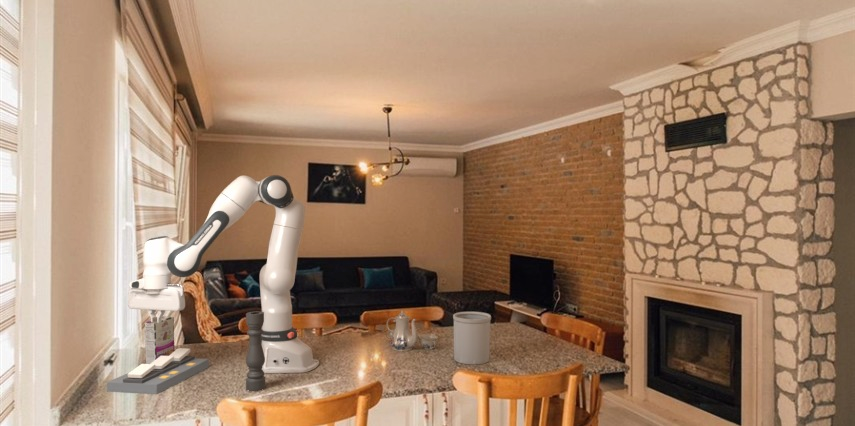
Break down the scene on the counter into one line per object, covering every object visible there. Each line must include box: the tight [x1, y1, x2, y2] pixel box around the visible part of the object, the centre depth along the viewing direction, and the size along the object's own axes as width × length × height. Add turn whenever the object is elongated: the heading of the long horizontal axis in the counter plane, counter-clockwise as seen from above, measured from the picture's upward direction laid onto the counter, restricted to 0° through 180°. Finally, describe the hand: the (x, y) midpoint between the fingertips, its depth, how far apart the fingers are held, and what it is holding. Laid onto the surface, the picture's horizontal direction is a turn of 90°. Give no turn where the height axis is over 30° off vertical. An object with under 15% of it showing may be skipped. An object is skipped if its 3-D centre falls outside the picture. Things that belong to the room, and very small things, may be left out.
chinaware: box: [385, 310, 440, 352], centre depth 231 cm, size 28×17×17 cm, turn 58°
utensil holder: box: [452, 311, 492, 365], centre depth 211 cm, size 15×15×18 cm
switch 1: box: [128, 363, 156, 378], centre depth 180 cm, size 5×7×1 cm
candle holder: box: [245, 310, 266, 392], centre depth 179 cm, size 6×6×25 cm
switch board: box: [106, 355, 210, 395], centre depth 190 cm, size 18×30×4 cm, turn 171°
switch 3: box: [169, 347, 192, 361], centre depth 200 cm, size 5×7×1 cm
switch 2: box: [150, 356, 174, 369], centre depth 190 cm, size 5×7×1 cm
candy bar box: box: [144, 315, 176, 364], centre depth 212 cm, size 11×5×16 cm, turn 168°
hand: (156, 322), depth 189 cm, fingers closed
